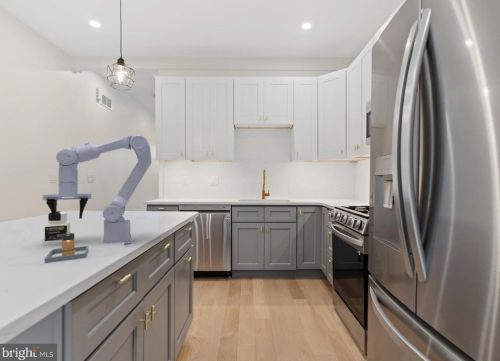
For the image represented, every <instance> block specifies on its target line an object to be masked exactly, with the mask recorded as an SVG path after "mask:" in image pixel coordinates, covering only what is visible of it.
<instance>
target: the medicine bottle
mask: <svg viewBox="0 0 500 361" xmlns="http://www.w3.org/2000/svg"><path fill="white" fill-rule="evenodd" d="M47 218H48V220H47V222H48V224H46V225H45V226H44V242H49V241H51V242H52V241H62V234H66V233H67V232H71V222H70V221H68V213H67V211H65V210H64V211H63V210H62V211H57V220H53V215H52V212H51V211H50V212H49V213H48V216H47Z"/></svg>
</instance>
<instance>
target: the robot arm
mask: <svg viewBox="0 0 500 361" xmlns="http://www.w3.org/2000/svg"><path fill="white" fill-rule="evenodd" d="M120 149H126V150H129V151H131V150H133V151H134V154H135V156H136V159H137V162H136V164H135V166H133V169H132V171H131V172H130V173H129V176H128V177H127V179H125V181H124V183H123V184H122V186H121V188H120V190H119V191H118V193H117V194H116V195H115V197H114V198H113V199H112V201H111V203H110V204H108V205H107V206H105V207H104V209H103V211H102V216H103V218H104V220H103V242H104V243H106V244H107V243H108V244H114V243H121V242H123V245H128V244H129V245H130V244H131V238H132V233H131V220H130V219H125V217H124V214H125V211H126V210H125V209H126V206H127V205H128V202H129V201H130V199H131V197H132V196H133V194H134V192H135V190H136V189H137V187H138V186H139V184H140V182H141V181H142V179H143V177H144V176H145V174H146V173H147V172H148V170H149V168H150V166H151V164H152V153H151V147H150V143H149V141H148V140H147V138H146V137H145V136H144V135H142V134H135V135H126V136H123V137H121V138H116V139H114V140H111V141H107V142H104V143H101V144H98V145H97V144H95V143H90V142H85V143H84V145H81V146H78V147H74V146H73V147H70V149H68V148H63V149H60V150H59V151H58V152H57V153H56V157H55V159H56V162H58V193H57V194H42V201H45V202H46V205H47V206H48V208H49V210H50V213H51V212H52V215H53V220H57V210H58V208H57V207H58V201H59V200H60V201H61V200H63V201H64V200H66V201H67V200H79V212H78V214H79V215H78V217H79V219H83V213H84V210H85V207H86V205H87V203H88V201H89V200H92V193H79V192H78V190H79V189H78V188H79V187H78V182H79V181H78V176H79V175H78V164H81V163H85V162H88V161H93V160H94V159H98V158H100V156H101V154H103V153H107V152H113V151H115V150H120Z"/></svg>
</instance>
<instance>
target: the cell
mask: <svg viewBox="0 0 500 361" xmlns="http://www.w3.org/2000/svg"><path fill="white" fill-rule="evenodd" d="M61 248H62V253H61V256H66V255H74V254H76V252H75V232H71V231H70V232H67V233H66V234H62V240H61Z"/></svg>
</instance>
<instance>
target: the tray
mask: <svg viewBox="0 0 500 361" xmlns="http://www.w3.org/2000/svg"><path fill="white" fill-rule="evenodd" d="M53 249H54V250H53ZM53 249H51V250H50V251H49V253H48V254H47V255H46V256H45V257H44V264H49V263H58V262H64V261H73V260H80V259H86V258H87V256H88V252H89V245H84V246H76V247H75V254H74V255H66V256H62V255H60V254H62V249H57V248H53ZM81 251H82V253H78V254H77V253H76V252H81ZM57 254H59V256H53V255H57Z"/></svg>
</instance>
